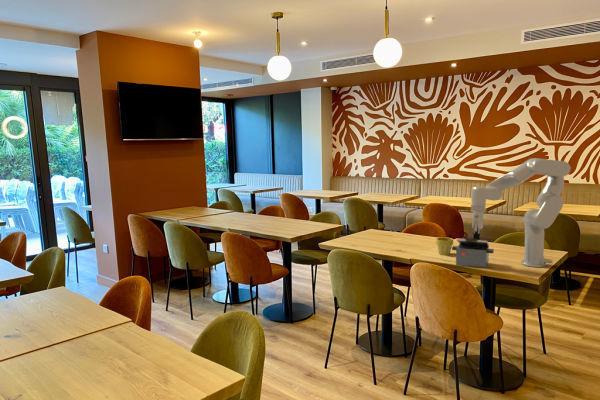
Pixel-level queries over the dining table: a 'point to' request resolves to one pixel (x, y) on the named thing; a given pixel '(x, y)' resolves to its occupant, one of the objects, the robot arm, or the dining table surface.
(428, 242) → the dining table surface
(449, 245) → the plant pot
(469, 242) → the lid
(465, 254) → the cooker
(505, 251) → the dining table surface
